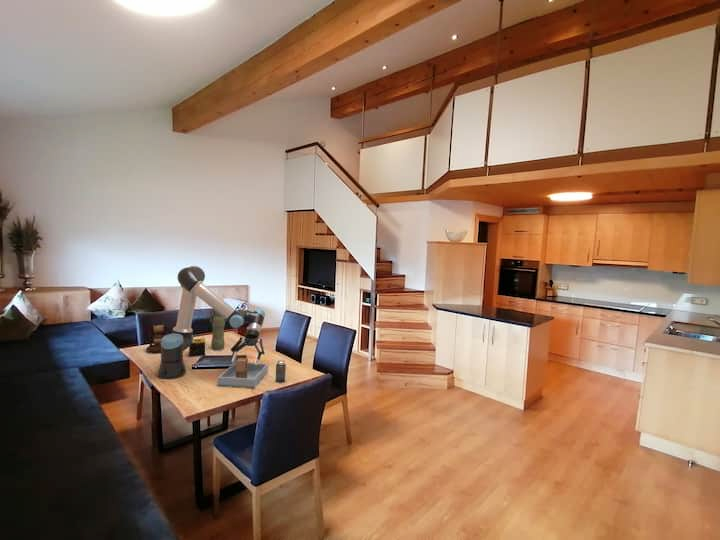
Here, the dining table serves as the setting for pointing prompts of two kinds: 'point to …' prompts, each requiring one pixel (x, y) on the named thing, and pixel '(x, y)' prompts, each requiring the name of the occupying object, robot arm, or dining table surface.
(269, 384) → the dining table surface
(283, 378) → the pepper mill
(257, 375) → the tray
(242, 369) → the walnut block
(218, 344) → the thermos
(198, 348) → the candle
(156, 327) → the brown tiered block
